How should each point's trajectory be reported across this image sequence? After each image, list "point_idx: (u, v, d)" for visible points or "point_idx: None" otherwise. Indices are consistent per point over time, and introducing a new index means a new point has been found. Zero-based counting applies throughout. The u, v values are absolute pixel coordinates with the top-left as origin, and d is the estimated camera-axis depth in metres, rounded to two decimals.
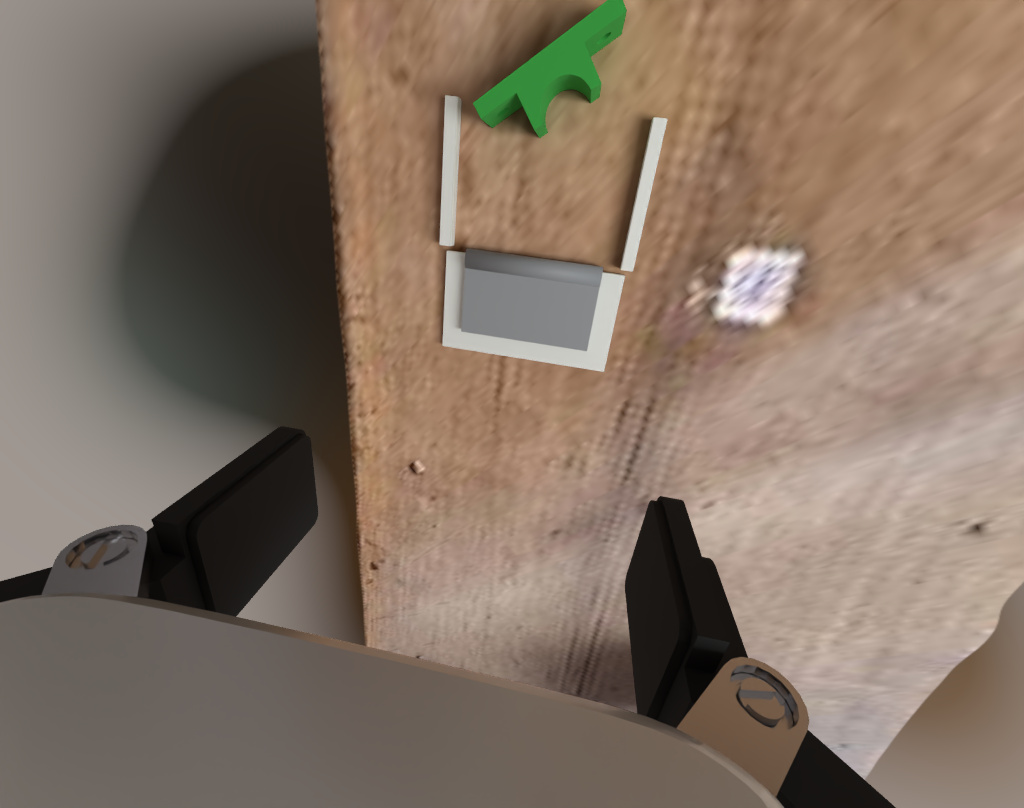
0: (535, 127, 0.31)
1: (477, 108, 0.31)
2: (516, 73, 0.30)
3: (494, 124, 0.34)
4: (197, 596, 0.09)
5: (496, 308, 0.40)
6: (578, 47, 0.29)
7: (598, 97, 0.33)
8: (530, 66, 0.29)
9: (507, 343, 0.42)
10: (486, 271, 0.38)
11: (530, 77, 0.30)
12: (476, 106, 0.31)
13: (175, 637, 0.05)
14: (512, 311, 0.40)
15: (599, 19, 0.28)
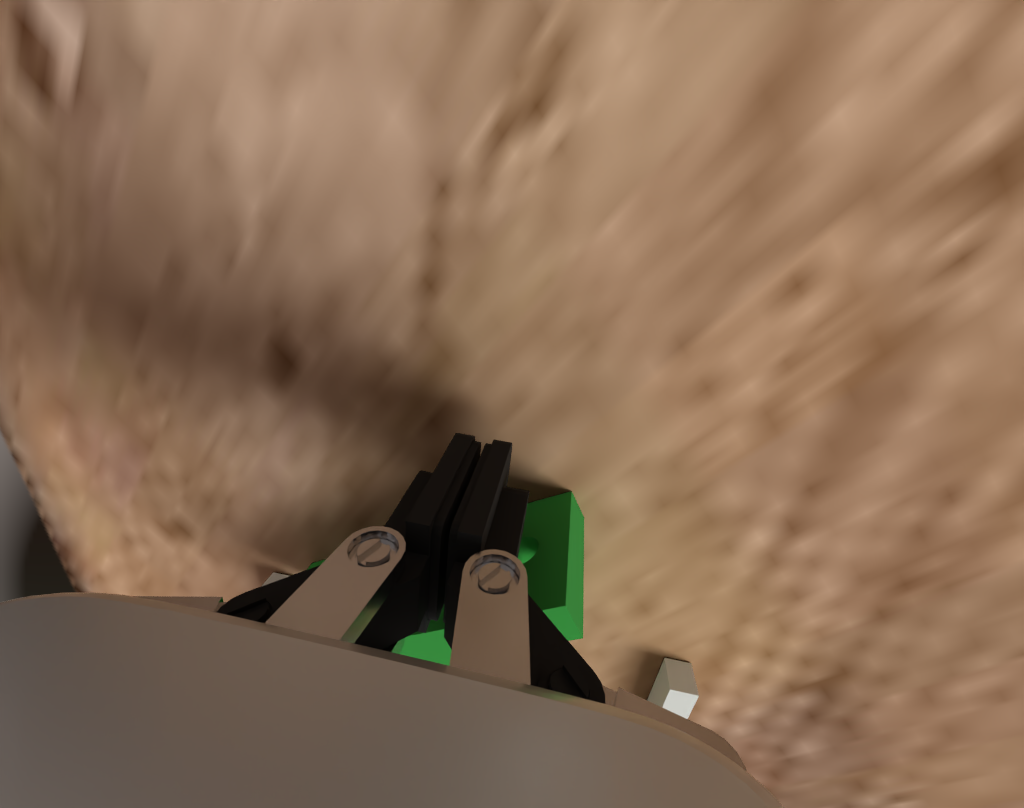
0: None
1: None
2: None
3: None
4: (427, 591, 0.09)
5: None
6: None
7: None
8: None
9: None
10: None
11: None
12: None
13: (175, 637, 0.05)
14: None
15: None
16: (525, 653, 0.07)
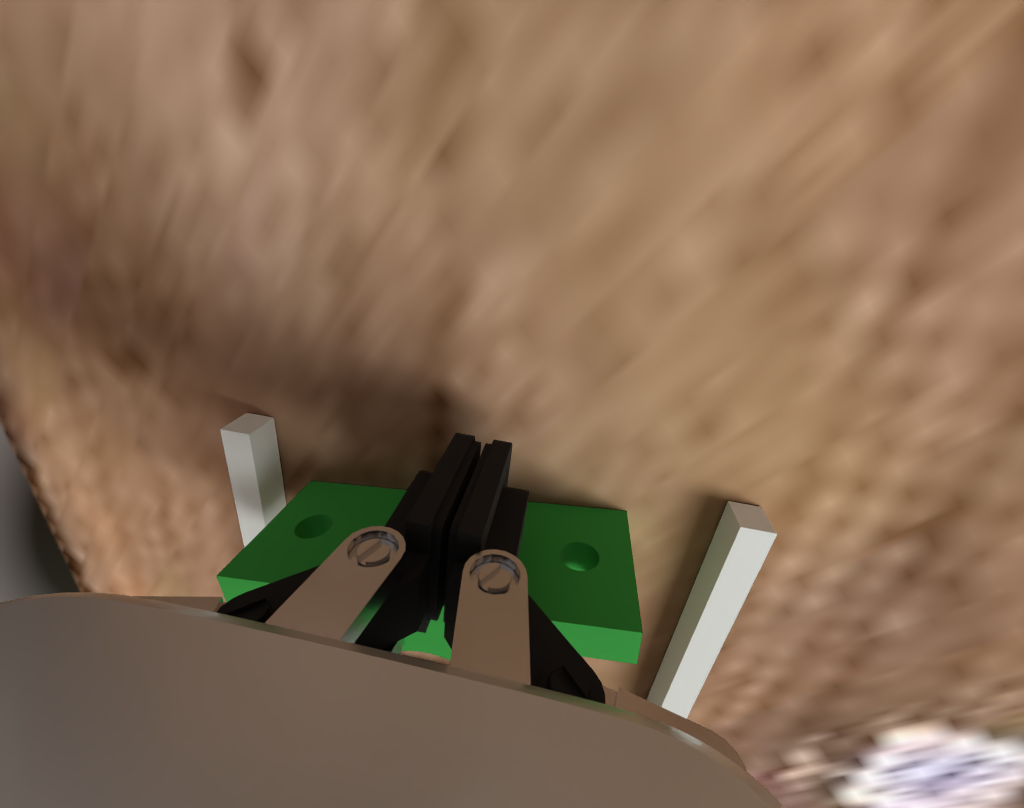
0: None
1: (224, 588, 0.12)
2: None
3: None
4: (427, 591, 0.09)
5: None
6: None
7: None
8: None
9: None
10: None
11: None
12: (223, 584, 0.12)
13: (175, 637, 0.05)
14: None
15: (570, 640, 0.11)
16: (525, 653, 0.07)
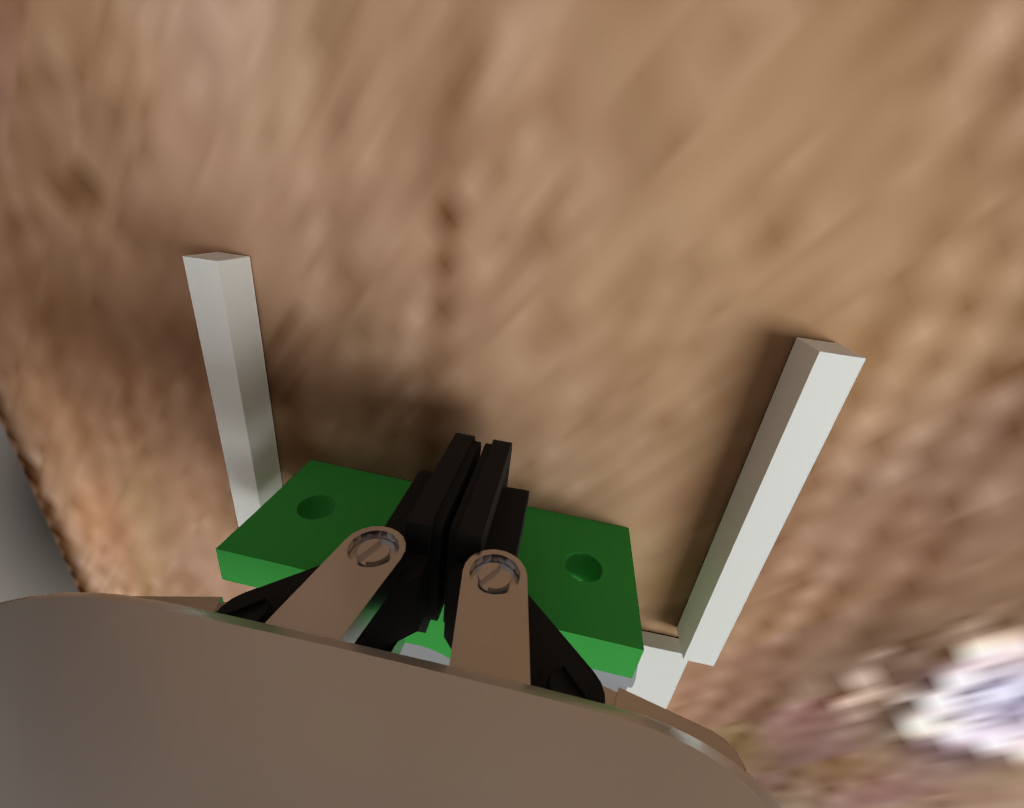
0: None
1: (222, 562, 0.11)
2: None
3: None
4: (427, 592, 0.09)
5: None
6: None
7: None
8: None
9: None
10: None
11: None
12: (221, 558, 0.11)
13: (175, 637, 0.05)
14: None
15: None
16: (525, 653, 0.07)
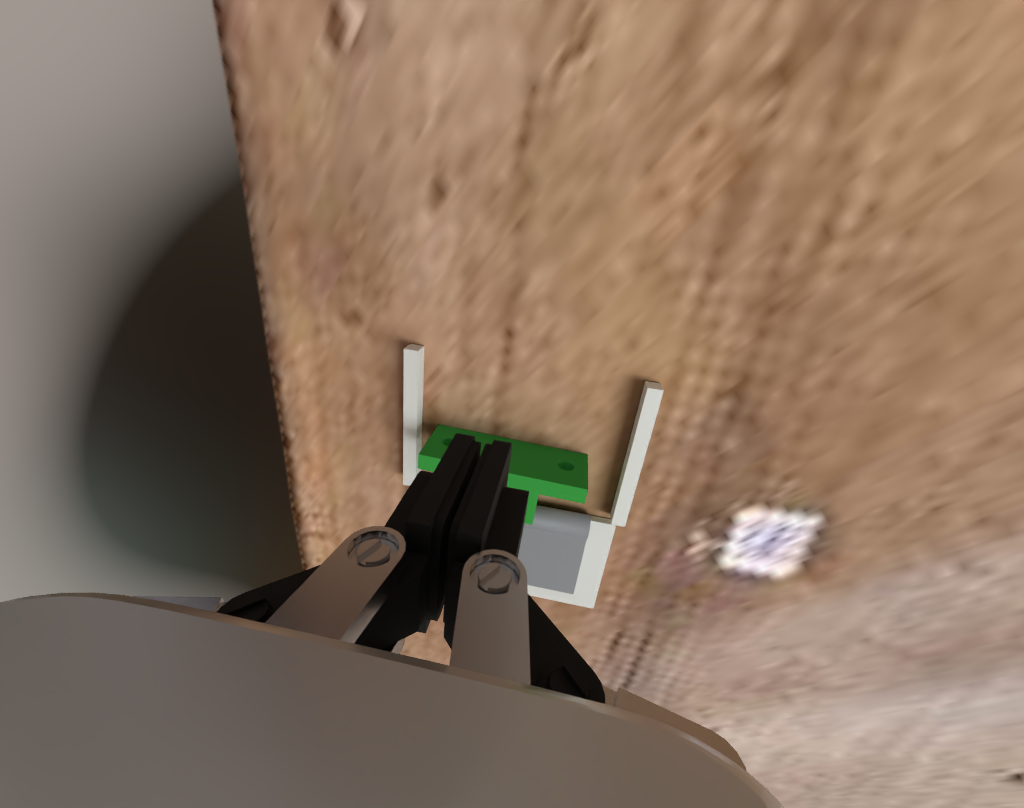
0: None
1: (419, 460, 0.28)
2: None
3: None
4: (427, 591, 0.09)
5: None
6: (532, 493, 0.28)
7: None
8: None
9: None
10: None
11: None
12: (419, 458, 0.28)
13: (175, 637, 0.05)
14: None
15: (560, 491, 0.28)
16: (525, 653, 0.07)
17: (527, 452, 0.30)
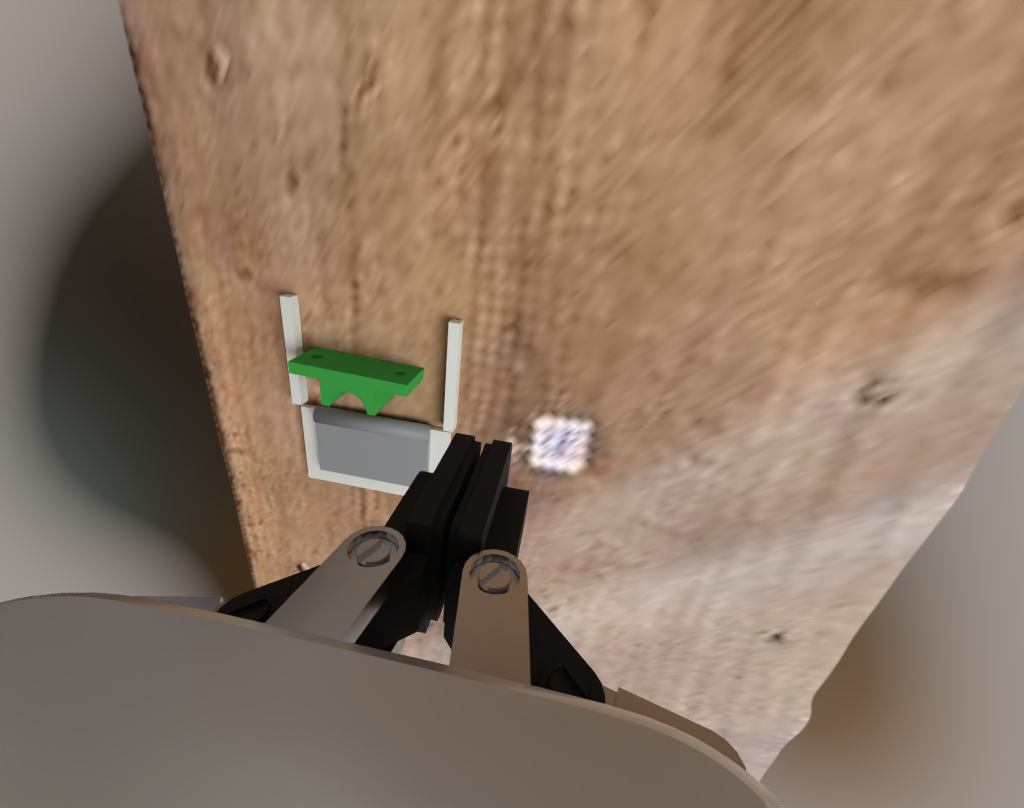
0: (322, 404, 0.40)
1: (289, 366, 0.39)
2: (325, 370, 0.39)
3: None
4: (427, 591, 0.09)
5: (346, 453, 0.46)
6: (370, 389, 0.39)
7: (392, 397, 0.43)
8: (335, 374, 0.39)
9: (362, 478, 0.48)
10: (333, 426, 0.44)
11: (332, 379, 0.39)
12: (289, 364, 0.39)
13: (175, 637, 0.05)
14: (359, 456, 0.46)
15: (389, 387, 0.38)
16: (525, 653, 0.07)
17: (375, 364, 0.41)
